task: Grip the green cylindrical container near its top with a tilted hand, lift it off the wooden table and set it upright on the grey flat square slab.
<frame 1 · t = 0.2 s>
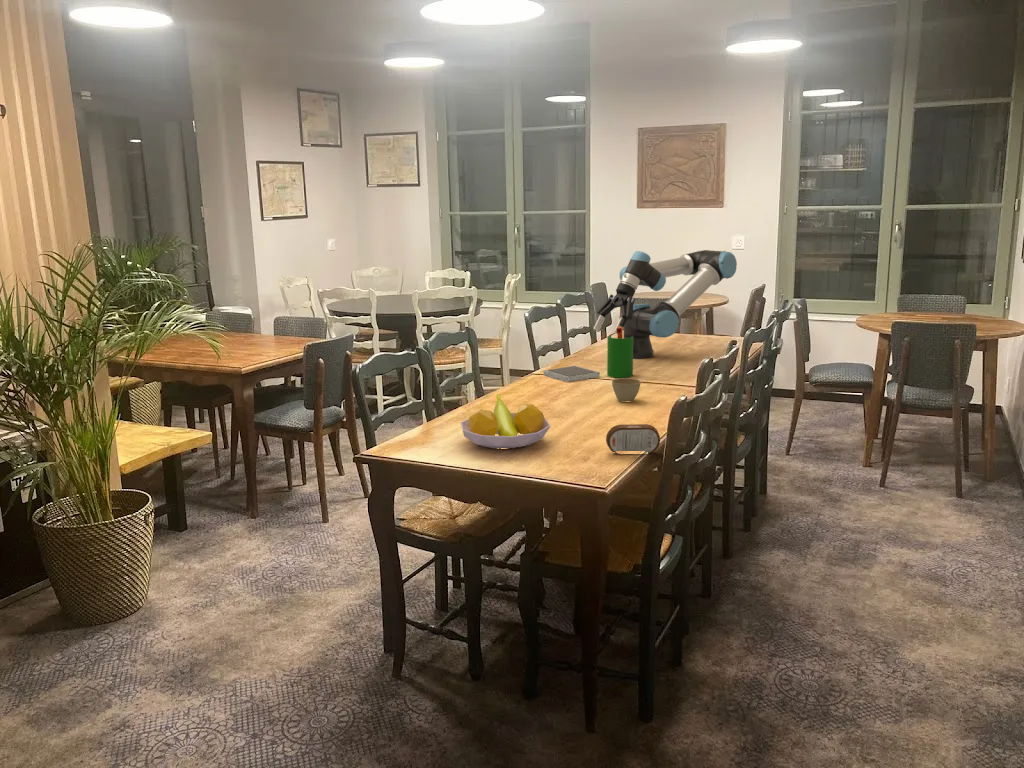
hand: (606, 331, 345), 16 cm above the table, tool tilted 35°, fingers open, 13 cm apart
flower pot: (626, 401, 295), on the table
grey flat square slab: (571, 376, 336), on the table
fruit bowl: (506, 442, 249), on the table
tin: (633, 454, 235), on the table
green cylindrical container: (620, 376, 335), on the table
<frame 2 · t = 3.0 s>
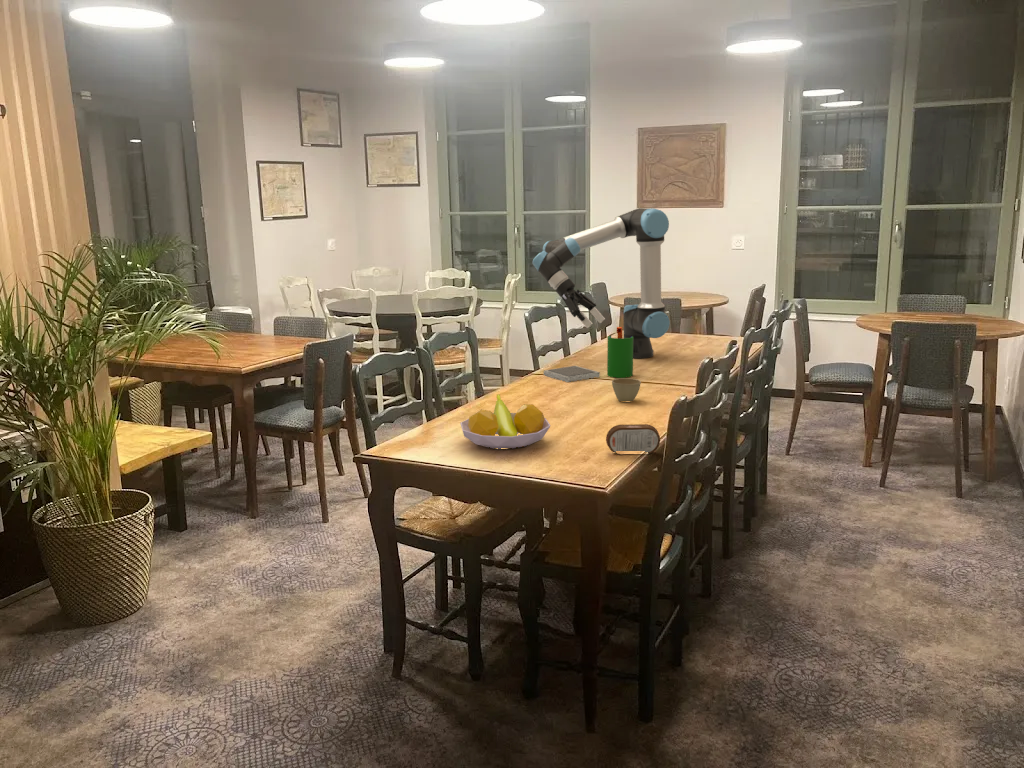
hand: (596, 323, 334), 21 cm above the table, tool tilted 45°, fingers open, 13 cm apart
nothing on the table moved.
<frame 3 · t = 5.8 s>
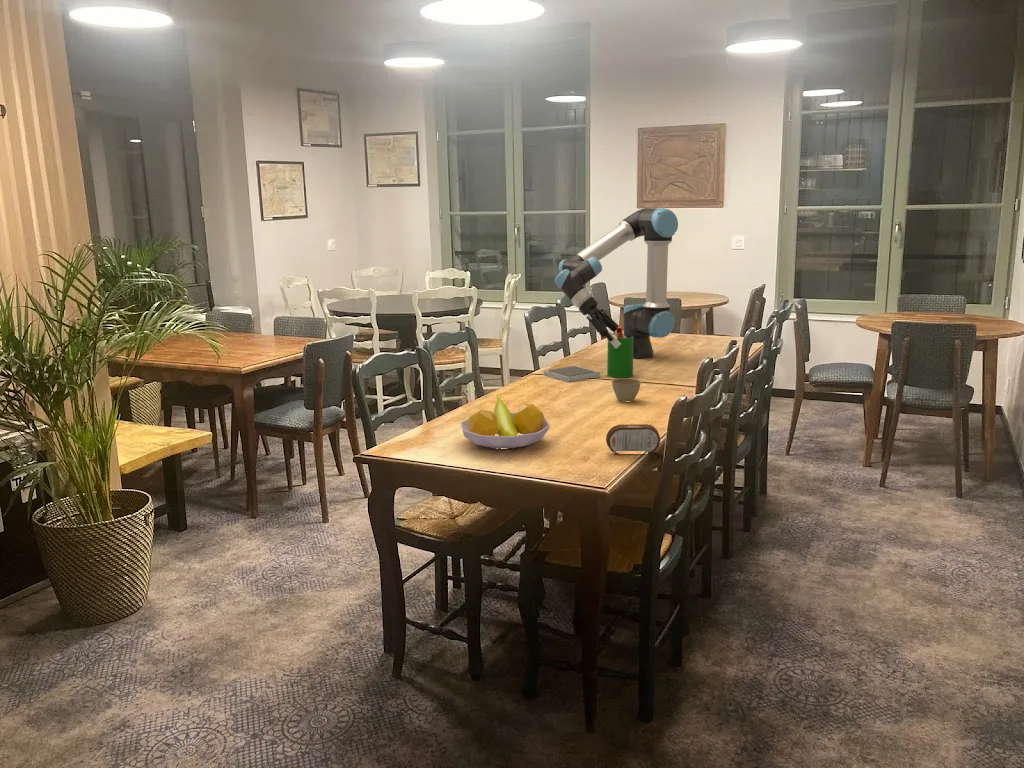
hand: (622, 344, 332), 13 cm above the table, tool tilted 45°, fingers closed on green cylindrical container, 8 cm apart
green cylindrical container: (620, 376, 335), on the table, touching gripper
everything else where it was.
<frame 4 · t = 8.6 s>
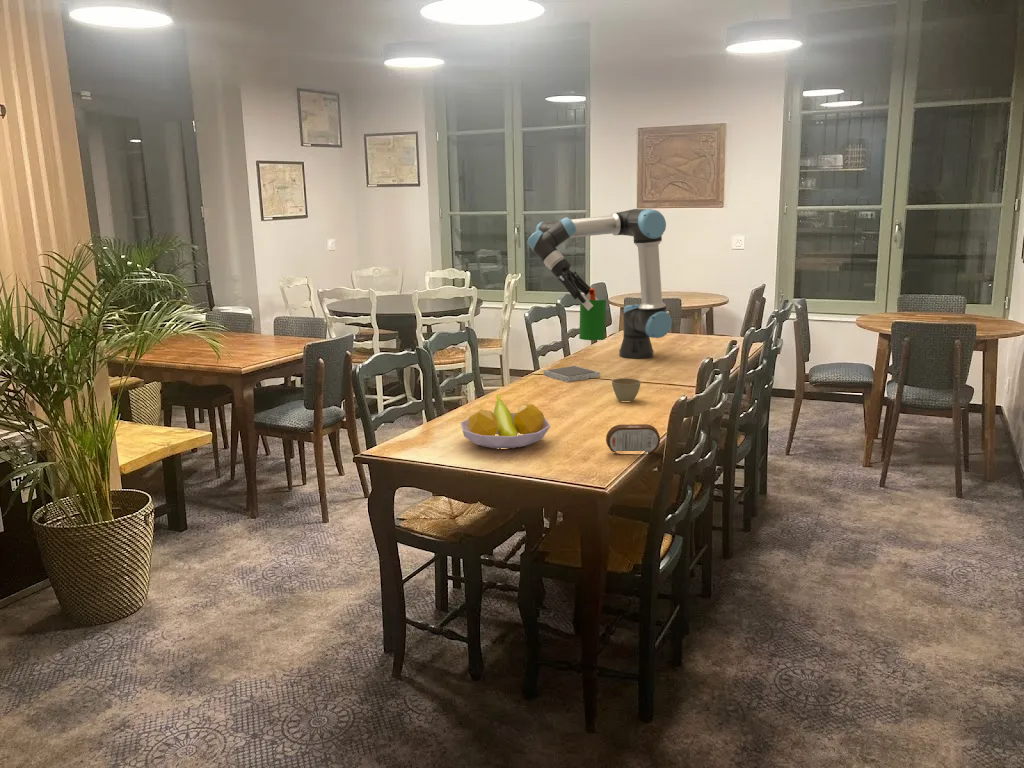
hand: (594, 307, 328), 28 cm above the table, tool tilted 45°, fingers closed on green cylindrical container, 8 cm apart
green cylindrical container: (592, 339, 331), point 15 cm above the table, touching gripper
everything else where it was.
when the fingers open (16 cm above the table, at t = 11.6 s): green cylindrical container drops 1 cm, resting on grey flat square slab.
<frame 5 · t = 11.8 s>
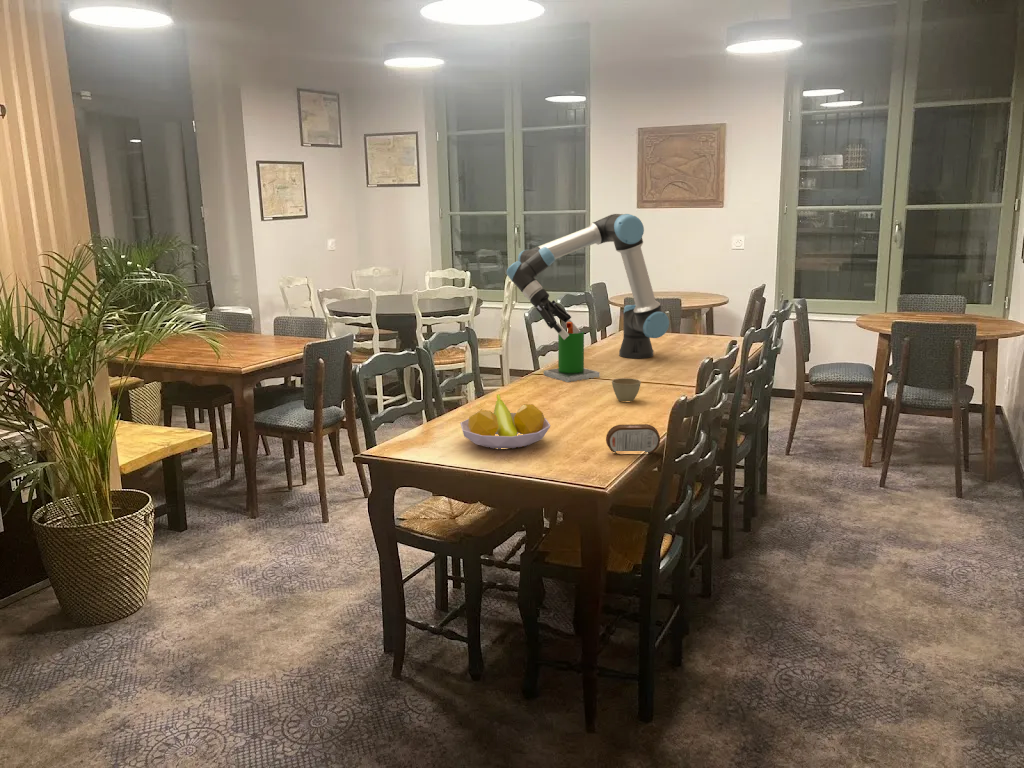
hand: (572, 335, 332), 17 cm above the table, tool tilted 45°, fingers open, 10 cm apart
green cylindrical container: (571, 371, 335), point 2 cm above the table, touching grey flat square slab
everything else where it was.
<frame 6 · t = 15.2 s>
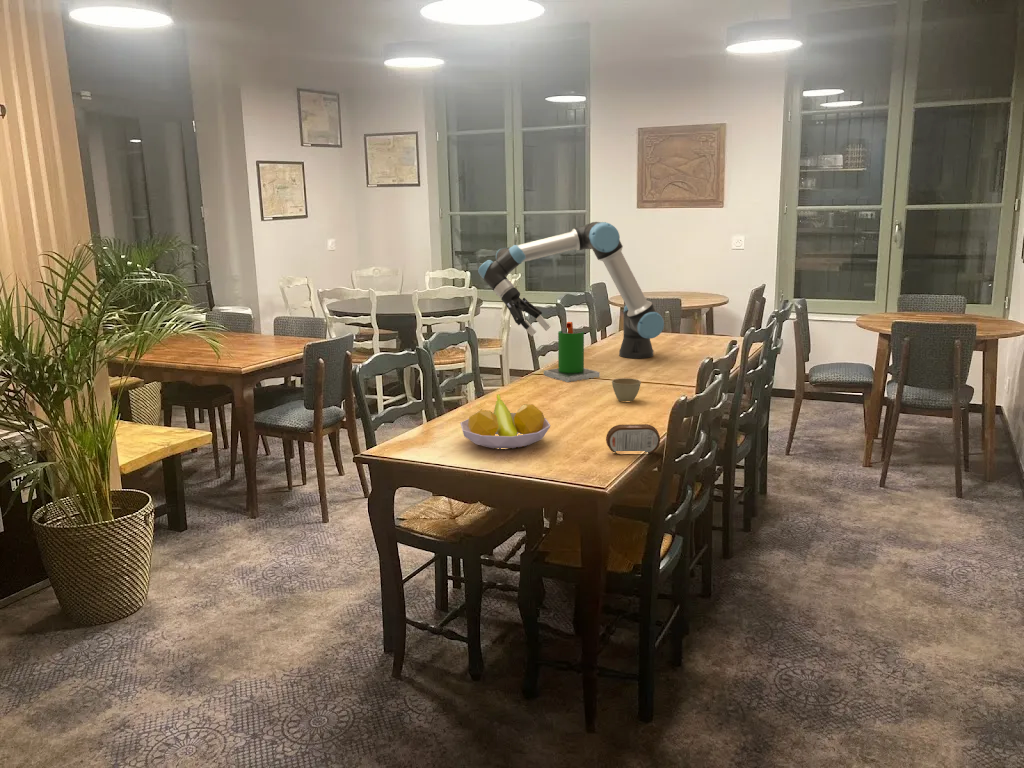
hand: (541, 331, 338), 17 cm above the table, tool tilted 45°, fingers open, 13 cm apart
nothing on the table moved.
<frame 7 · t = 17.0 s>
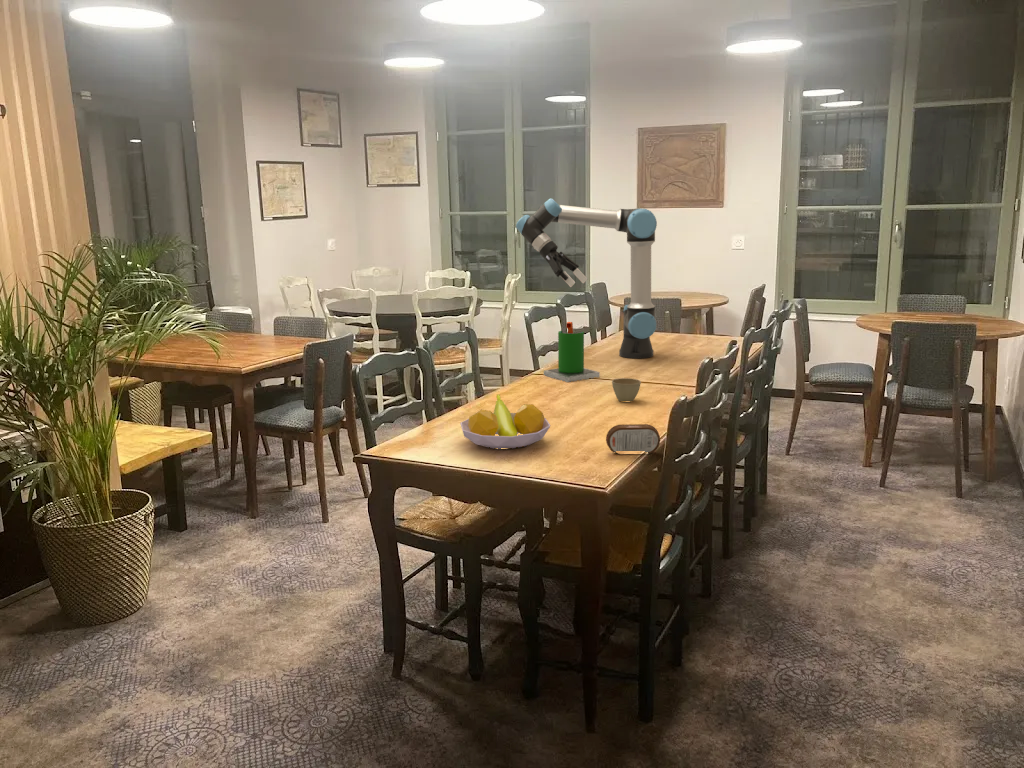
hand: (579, 283, 346), 35 cm above the table, tool tilted 45°, fingers open, 13 cm apart
nothing on the table moved.
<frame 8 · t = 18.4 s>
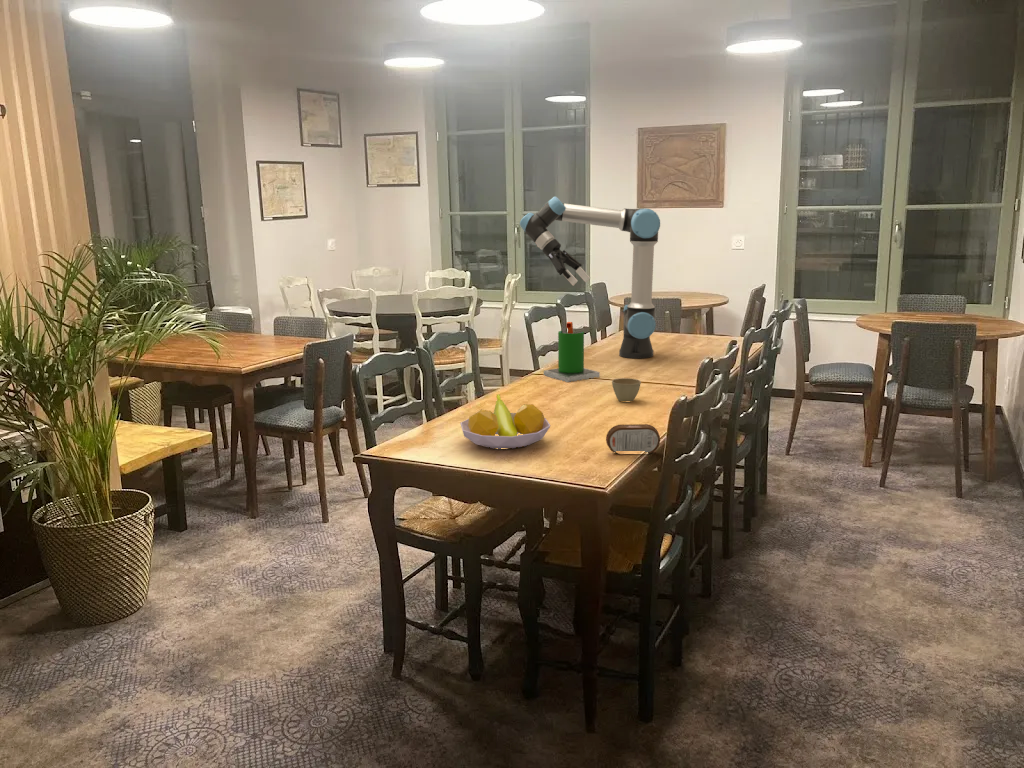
hand: (581, 281, 346), 36 cm above the table, tool tilted 45°, fingers open, 13 cm apart
nothing on the table moved.
at the end: green cylindrical container inside the target area on the grey flat square slab (0.3 cm from its centre), point 2.0 cm above the grey flat square slab's base; green cylindrical container tilted 0°; the gripper is holding nothing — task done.
